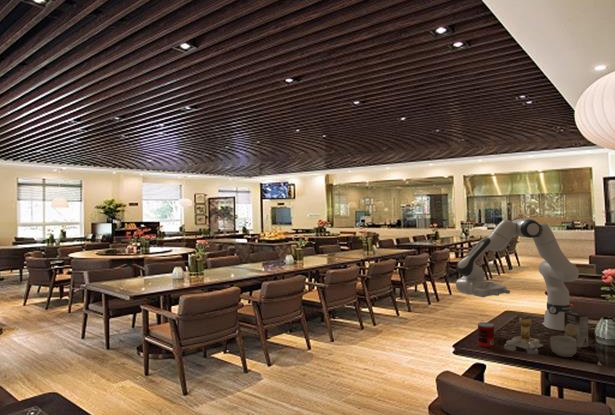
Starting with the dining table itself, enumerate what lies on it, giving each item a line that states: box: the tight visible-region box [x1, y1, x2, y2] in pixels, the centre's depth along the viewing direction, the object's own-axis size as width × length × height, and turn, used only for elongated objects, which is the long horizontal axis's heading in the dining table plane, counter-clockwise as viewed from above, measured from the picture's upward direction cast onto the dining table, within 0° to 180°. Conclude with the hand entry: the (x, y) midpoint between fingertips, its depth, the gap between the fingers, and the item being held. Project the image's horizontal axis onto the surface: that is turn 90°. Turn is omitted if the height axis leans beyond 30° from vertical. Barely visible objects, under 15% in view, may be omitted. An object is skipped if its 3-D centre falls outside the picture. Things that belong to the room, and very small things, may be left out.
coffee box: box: [563, 310, 589, 348], centre depth 219 cm, size 9×6×16 cm
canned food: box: [477, 321, 495, 349], centre depth 218 cm, size 8×8×11 cm
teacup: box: [549, 335, 578, 358], centre depth 204 cm, size 14×11×8 cm
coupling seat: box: [503, 335, 545, 352], centre depth 216 cm, size 20×12×4 cm, turn 121°
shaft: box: [525, 340, 539, 356], centre depth 209 cm, size 9×4×4 cm, turn 166°
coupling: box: [518, 314, 532, 341], centre depth 218 cm, size 6×6×14 cm
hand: (503, 293), depth 229 cm, fingers open, 8 cm apart
